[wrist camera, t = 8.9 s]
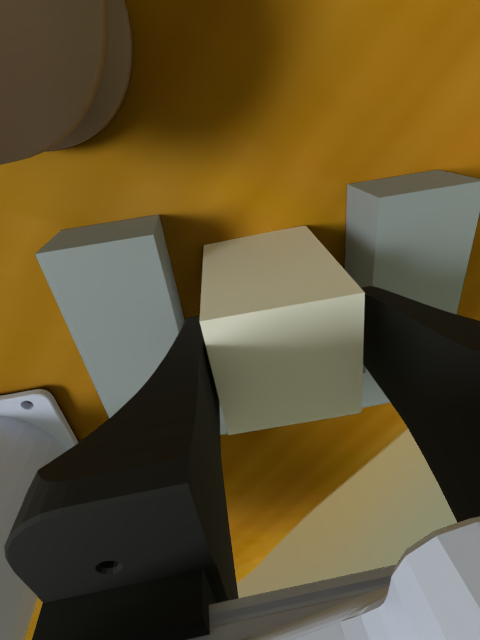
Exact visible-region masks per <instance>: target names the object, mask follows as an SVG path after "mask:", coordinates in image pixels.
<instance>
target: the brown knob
mask: <svg viewBox="0 0 480 640" xmlns="http://www.w3.org/2000/svg"><path fill="white" fill-rule="evenodd" d="M132 61H133V42H132V30H131V25H130V19H129V13H128V10H127V6H126V3H125V0H0V165H1V164H5V163H10V162H14V161H18V160H22V159H26V158H30V157H32V156H35V155H37V154H40V153H42V152H45V151H55V150H60V149H64V148H68V147H72V146H75V145H78V144H80V143H83V142H85V141H87V140H89V139H91V138H92V137H94V136H96V135H97V134H98V133H99V132H100V131H102V130H103V129H104V128H105V127H106V126H107V125H108V124H109V123H110V121H111V120H112V119H113V118H114V116H115V115H116V113H117V112H118V110H119V108H120V107H121V104H122V102H123V100H124V98H125V95H126V92H127V89H128V86H129V82H130V77H131V71H132Z"/></svg>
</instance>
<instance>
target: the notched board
mask: <svg viewBox="0 0 480 640" xmlns="http://www.w3.org/2000/svg"><path fill="white" fill-rule="evenodd" d="M479 213H480V179H479V178H474V177H469V176H465V175H460V174H455V173H451V172H446V171H441V170H433V171H427V172H421V173H415V174H409V175H402V176H396V177H390V178H384V179H377V180H371V181H365V182H359V183H352V184H347V210H346V242H345V271H346V272H347V273H348V274H349V275H350V276H351V278H352V279H353V280H354V281H355V282H356V283H357V284H358V285H359V287H360V288H362V287H368V286H374V287H378V288H381V289H384V290H387V291H390V292H393V293H396V294H399V295H401V296H404V297H407V298H409V299H412V300H415V301H418V302H420V303H423V304H426V305H429V306H432V307H435V308H438V309H441V310H444V311H447V312H450V313H453V314H457V310H458V306H459V302H460V297H461V293H462V288H463V284H464V279H465V275H466V271H467V266H468V262H469V257H470V253H471V249H472V244H473V240H474V235H475V231H476V226H477V222H478V218H479ZM35 255H36V257H37V260H38V262H39V264H40V266H41V268H42V271H43V273H44V275H45V277H46V280H47V282H48V284H49V286H50V288H51V291H52V293H53V295H54V297H55V299H56V302H57V304H58V306H59V308H60V310H61V313H62V315H63V317H64V319H65V322H66V324H67V326H68V328H69V330H70V333H71V335H72V337H73V339H74V341H75V344H76V346H77V348H78V350H79V352H80V355H81V357H82V359H83V361H84V364H85V366H86V368H87V370H88V372H89V375H90V377H91V379H92V381H93V383H94V386H95V388H96V390H97V392H98V394H99V397H100V399H101V401H102V403H103V406H104V408H105V410H106V412H107V414H108V417H109V418H111V417H112V416H113V415H114V414H115V413H116V412H117V411H118V410H119V409H120V408H121V407H122V406H124V405H125V404H126V403H127V402H128V401H129V400H130V399H131V398H132V397H133V396H134V395H135V394H136V393H137V392H138V391H139V390H140V389H141V387H142V386H143V385H144V384H145V383H146V382H147V381H148V379H149V378H150V377H151V375H152V374H153V373H154V372H155V370H156V369H157V367H158V366H159V364H160V363H161V362H162V360H163V359H164V357H165V356H166V354H167V353H168V351H169V349H170V348H171V346H172V344H173V343H174V341H175V339H176V337H177V335H178V334H179V332H180V330H181V328H182V326H183V324H184V322H185V319H184V315H183V311H182V306H181V302H180V298H179V294H178V290H177V286H176V282H175V278H174V274H173V270H172V265H171V261H170V257H169V253H168V249H167V245H166V241H165V237H164V233H163V228H162V224H161V220H160V216H159V215H153V216H147V217H141V218H134V219H128V220H122V221H116V222H109V223H103V224H97V225H91V226H85V227H78V228H72V229H66V230H61V231H60V232H59V233H58V234H57V235H55V236H54V237H53V238H52V239H51V240H50V241H49V242H48V243H47V244H45V245H44V246H43V247H42V248H41V249H40V250H39V251H38V252H37V253H35ZM384 403H390V401H389V399H388V398H387V397H386V395H385V394H384V392H383V391H382V390H381V388H380V387H379V386H378V384H377V383H376V381H375V380H374V379H373V377H372V376H371V374H370V373H369V372H368V370H367V369H366V367H365V366H364V364H363V378H362V408H364V407H369V406H374V405H379V404H384ZM223 434H228V432H227V428H226V424H225V420H224V416H223V412H222V408H221V404H220V435H223Z"/></svg>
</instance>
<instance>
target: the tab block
mask: <svg viewBox="0 0 480 640" xmlns="http://www.w3.org/2000/svg"><path fill="white" fill-rule="evenodd" d="M364 304H365V292H364V291H363V290H362V289H361V288H360V287H359V285H358V284H357V283H356V282H355V281H354V280H353V279H352V278H351V276H350V275H349V274H348V273H347V272H346V271H345V270H344V268H343V267H342V266H341V265H340V264H339V263H338V262H337V261H336V259H335V258H334V257H333V256H332V255H331V254H330V253H329V251H328V250H327V249H326V248H325V247H324V246H323V245H322V243H321V242H320V241H319V240H318V239H317V238H316V237H315V236H314V234H313V233H312V232H311V231H310V230H309V229H308V228H307V226H300V227H295V228H289V229H283V230H278V231H273V232H268V233H263V234H257V235H252V236H247V237H242V238H237V239H232V240H227V241H222V242H217V243H212V244H206V245H204V251H203V268H202V285H201V303H200V320H199V322H200V326H201V330H202V334H203V337H204V341H205V345H206V349H207V353H208V357H209V361H210V365H211V369H212V373H213V377H214V381H215V385H216V389H217V393H218V396H219V400H220V404H221V408H222V412H223V416H224V420H225V424H226V428H227V432H228V435H233V434H239V433H245V432H251V431H257V430H263V429H269V428H274V427H280V426H286V425H292V424H298V423H304V422H310V421H316V420H322V419H328V418H334V417H340V416H346V415H352V414H358V413H362V378H363V341H364Z"/></svg>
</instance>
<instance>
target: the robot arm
mask: <svg viewBox="0 0 480 640" xmlns="http://www.w3.org/2000/svg"><path fill="white" fill-rule="evenodd" d="M361 289H362V290H363V291H364V292H365V304H364V341H363V364H364V366H365V367H366V369H367V370H368V372H369V373H370V374H371V376H372V377H373V379H374V380H375V381H376V383H377V384H378V386H379V387H380V388H381V390H382V391H383V392H384V394H385V395H386V397H387V398H388V399H389V401H390V402H391V404H392V405H393V406H394V408H395V409H396V410H397V412H398V413H399V415H400V416H401V418H402V419H403V421H404V422H405V424H406V425H407V427H408V429H409V431H410V432H411V434H412V436H413V438H414V439H415V441H416V443H417V445H418V446H419V448H420V450H421V452H422V454H423V455H424V457H425V459H426V461H427V463H428V465H429V467H430V469H431V470H432V472H433V474H434V476H435V478H436V480H437V482H438V484H439V486H440V488H441V490H442V492H443V494H444V496H445V498H446V500H447V502H448V504H449V506H450V508H451V510H452V512H453V514H454V516H455V518H456V520H457V523H455V524H453V525H450V526H447V527H444V528H441V529H438V530H435V531H433V532H432V533H430V534H429V535H427V536H426V537H424V538H423V539H421V540H420V541H418V542H417V543H415V544H414V545H412V546H411V547H409V548H408V549H407V550H406V551H405V553H404V554H403V556H402V557H401V559H400V560H399V562H398V563H397V565H393V566H388V567H383V568H378V569H374V570H369V571H364V572H360V573H355V574H350V575H346V576H341V577H336V578H332V579H327V580H322V581H318V582H313V583H309V584H304V585H299V586H294V587H290V588H286V589H281V590H276V591H271V592H266V593H262V594H257V595H253V596H248V597H243V598H238V592H237V584H236V576H235V569H234V561H233V553H232V546H231V538H230V530H229V522H228V514H227V506H226V498H225V489H224V481H223V472H222V464H221V449H220V400H219V396H218V393H217V389H216V385H215V381H214V377H213V373H212V369H211V365H210V361H209V357H208V353H207V349H206V345H205V341H204V337H203V334H202V330H201V326H200V322H199V320H200V316H196V317H191V318H187V319H186V320H185V322H184V324H183V326H182V328H181V330H180V332H179V334H178V335H177V337H176V339H175V341H174V343H173V344H172V346H171V348H170V349H169V351H168V353H167V354H166V356H165V357H164V359H163V360H162V362H161V363H160V364H159V366H158V367H157V369H156V370H155V372H154V373H153V374H152V375H151V377H150V378H149V379H148V381H147V382H146V383H145V384H144V385H143V386H142V387H141V389H140V390H139V391H138V392H137V393H136V394H135V395H134V396H133V397H132V398H131V399H130V400H129V401H128V402H127V403H126V404H125V405H124V406H122V407H121V408H120V409H119V410H118V411H117V412H116V413H115V414H114V415H113V416H112V417H111V418H109V419H108V420H107V421H106V422H105V423H103V424H102V425H101V426H100V427H99V428H97V429H96V430H95V431H93V432H92V433H91V434H90V435H88V436H87V437H86V438H84V439H83V440H82V441H80V442H79V443H78V441H77V439H76V437H75V435H74V433H73V432H72V430H71V428H70V426H69V424H68V422H67V421H66V419H65V417H64V415H63V413H62V411H61V410H60V408H59V406H58V404H57V402H56V400H55V399H54V397H53V395H52V394H51V393H50V392H48V391H47V390H43V389H36V390H30V391H25V392H19V393H14V394H8V395H3V396H0V640H24V639H25V636H26V633H27V630H28V626H29V623H30V620H31V617H32V614H33V610H34V607H35V604H36V601H37V597H38V598H39V599H40V600H41V601H42V602H43V604H42V608H41V611H40V615H39V618H38V621H37V625H36V628H35V631H34V635H33V638H32V640H480V321H478V320H474V319H470V318H466V317H463V316H460V315H457V314H453V313H450V312H447V311H444V310H441V309H438V308H435V307H432V306H429V305H426V304H423V303H420V302H418V301H415V300H412V299H409V298H407V297H404V296H401V295H399V294H396V293H393V292H390V291H387V290H384V289H381V288H378V287H374V286H368V287H362V288H361ZM26 401H30V402H32V403H28V402H26Z"/></svg>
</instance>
